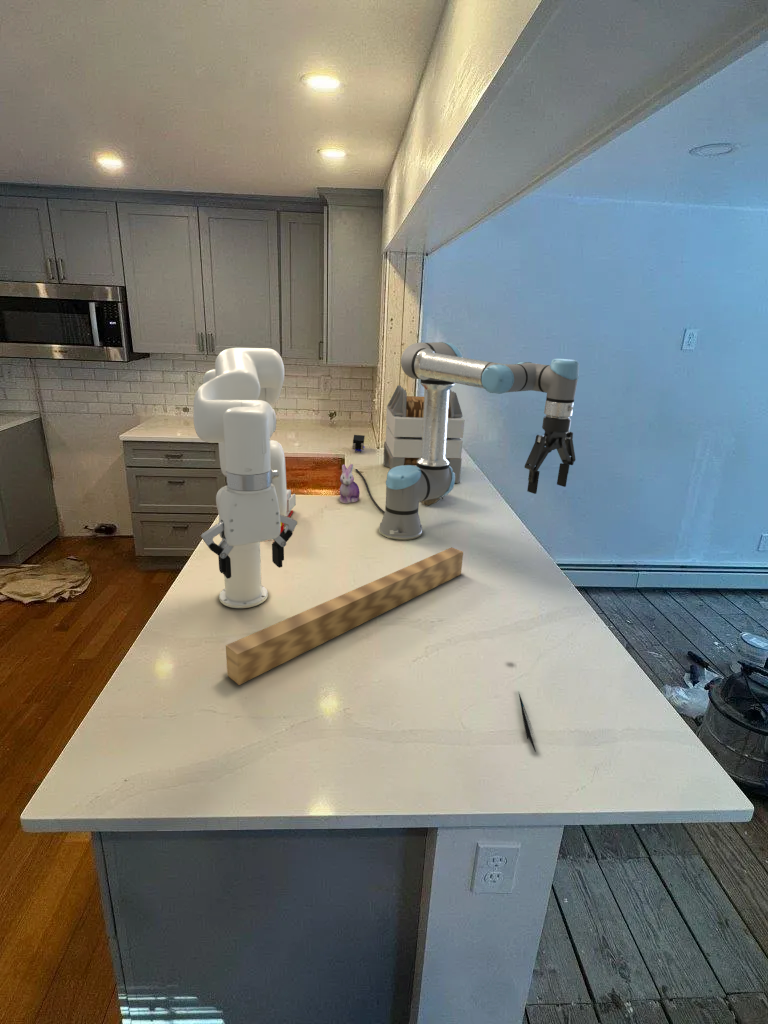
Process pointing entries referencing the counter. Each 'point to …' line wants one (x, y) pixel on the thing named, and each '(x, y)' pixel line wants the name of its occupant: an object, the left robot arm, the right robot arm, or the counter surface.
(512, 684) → the counter surface
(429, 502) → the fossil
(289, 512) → the toy
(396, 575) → the post
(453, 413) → the white storage crate
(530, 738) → the feather
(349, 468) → the figurine
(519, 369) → the right robot arm
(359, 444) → the figurine character
